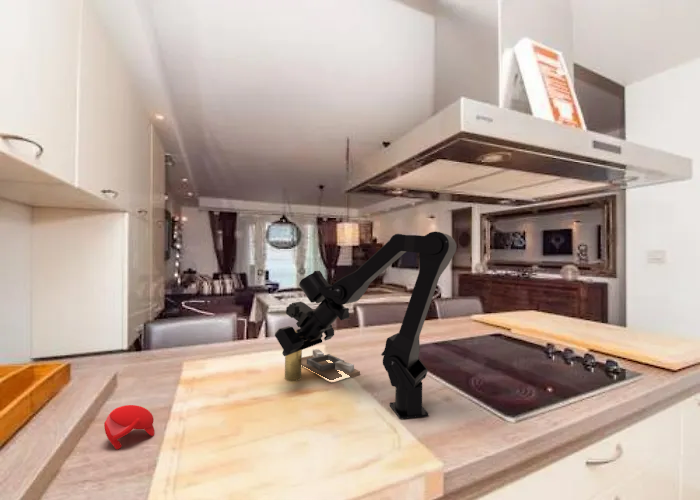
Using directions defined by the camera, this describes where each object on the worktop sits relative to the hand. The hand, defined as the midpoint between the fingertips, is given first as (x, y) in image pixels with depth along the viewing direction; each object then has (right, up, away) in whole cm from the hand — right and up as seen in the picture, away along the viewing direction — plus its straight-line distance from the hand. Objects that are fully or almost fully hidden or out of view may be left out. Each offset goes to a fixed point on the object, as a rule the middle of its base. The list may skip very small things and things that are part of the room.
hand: (289, 352), depth 86 cm
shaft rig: (+9, -7, +7) cm, 14 cm away
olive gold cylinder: (+1, -7, -1) cm, 7 cm away
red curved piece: (-22, -6, -31) cm, 38 cm away
